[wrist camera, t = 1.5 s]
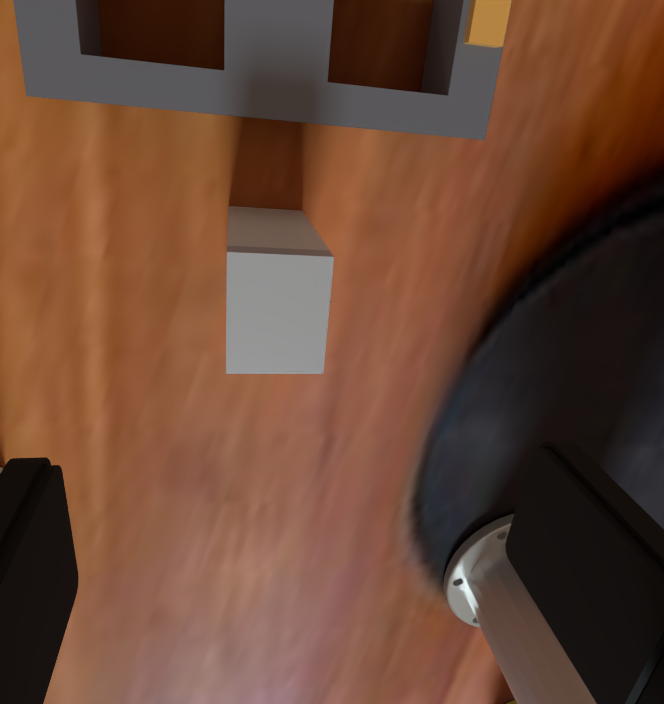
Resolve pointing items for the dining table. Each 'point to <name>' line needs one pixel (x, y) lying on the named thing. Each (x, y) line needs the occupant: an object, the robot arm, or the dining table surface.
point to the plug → (276, 293)
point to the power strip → (274, 67)
